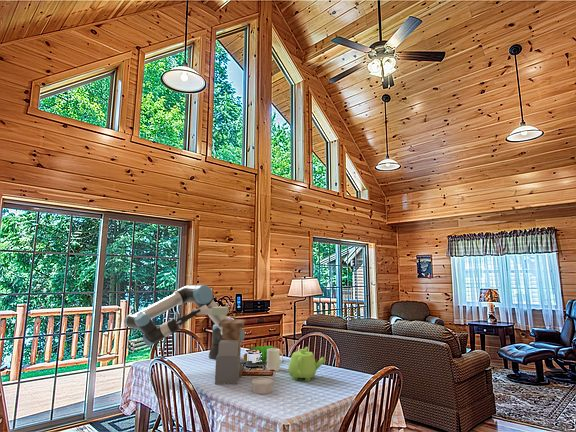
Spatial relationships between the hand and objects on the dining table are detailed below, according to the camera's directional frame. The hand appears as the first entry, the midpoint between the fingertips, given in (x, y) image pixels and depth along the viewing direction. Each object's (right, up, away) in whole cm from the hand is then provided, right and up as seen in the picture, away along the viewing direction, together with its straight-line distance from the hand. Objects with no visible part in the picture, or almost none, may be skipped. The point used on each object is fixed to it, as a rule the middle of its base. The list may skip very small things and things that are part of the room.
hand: (206, 306), depth 220 cm
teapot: (+59, -41, -2) cm, 72 cm away
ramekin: (+35, -36, -30) cm, 59 cm away
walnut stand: (+14, -41, +5) cm, 43 cm away
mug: (+40, -43, +16) cm, 61 cm away
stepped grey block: (+14, -38, -13) cm, 43 cm away
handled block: (+2, -4, -1) cm, 5 cm away
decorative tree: (+31, -46, +35) cm, 66 cm away
